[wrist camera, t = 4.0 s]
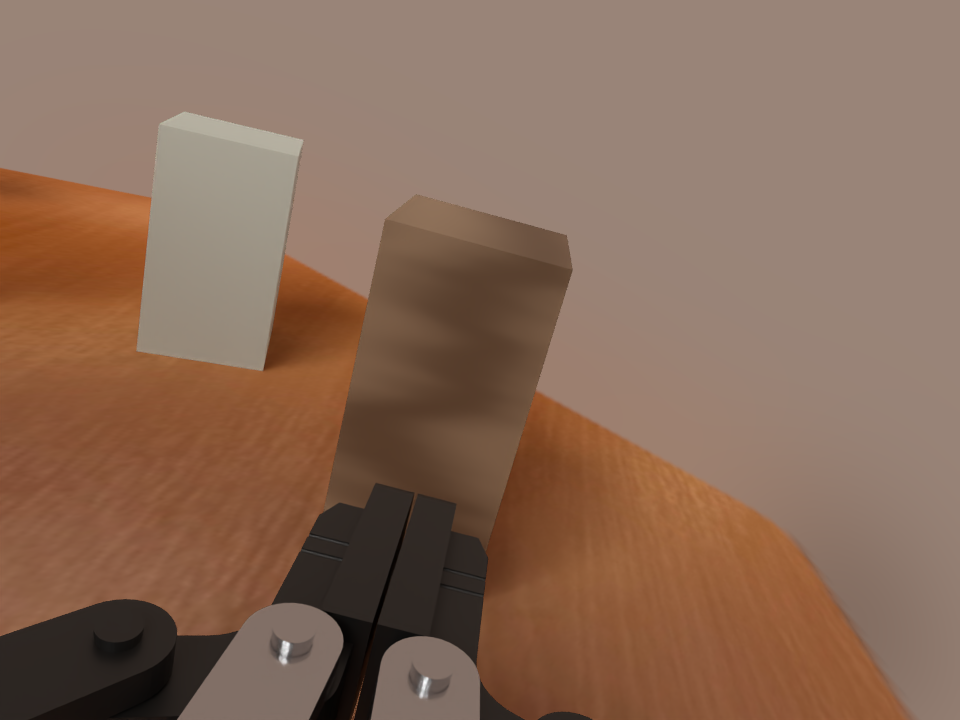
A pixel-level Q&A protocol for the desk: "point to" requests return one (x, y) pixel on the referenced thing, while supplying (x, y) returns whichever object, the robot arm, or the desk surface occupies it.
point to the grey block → (216, 240)
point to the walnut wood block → (449, 358)
